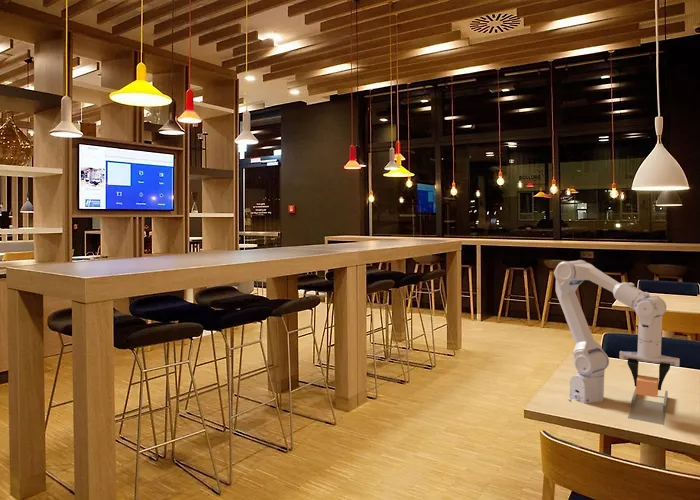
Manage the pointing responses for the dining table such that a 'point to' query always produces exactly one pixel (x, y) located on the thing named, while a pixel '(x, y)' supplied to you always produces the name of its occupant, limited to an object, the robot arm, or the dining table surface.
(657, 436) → the dining table surface
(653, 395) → the block
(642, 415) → the channel
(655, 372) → the dining table surface
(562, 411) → the dining table surface
